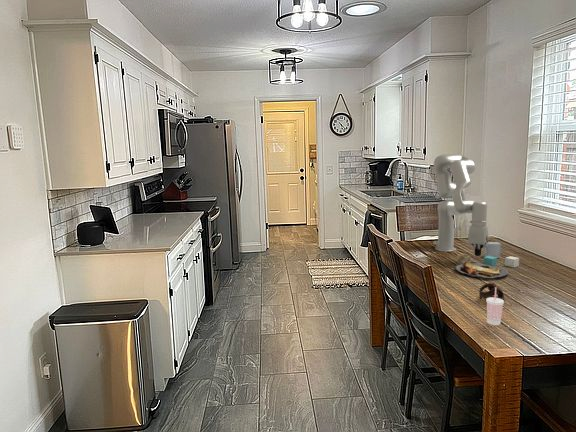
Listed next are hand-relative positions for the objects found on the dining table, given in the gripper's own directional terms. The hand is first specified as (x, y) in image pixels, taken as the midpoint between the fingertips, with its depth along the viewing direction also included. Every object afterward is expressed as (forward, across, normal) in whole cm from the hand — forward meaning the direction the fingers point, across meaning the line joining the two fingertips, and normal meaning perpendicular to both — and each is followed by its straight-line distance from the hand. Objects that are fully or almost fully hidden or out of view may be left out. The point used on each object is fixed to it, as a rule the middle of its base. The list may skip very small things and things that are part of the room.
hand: (477, 255), depth 246 cm
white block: (+4, +15, +8) cm, 18 cm away
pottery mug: (+6, +36, -48) cm, 61 cm away
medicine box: (+4, -1, +16) cm, 17 cm away
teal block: (+4, +7, 0) cm, 8 cm away
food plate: (+5, +12, -17) cm, 21 cm away
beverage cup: (+6, +50, -72) cm, 88 cm away
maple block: (+4, -4, -8) cm, 10 cm away
